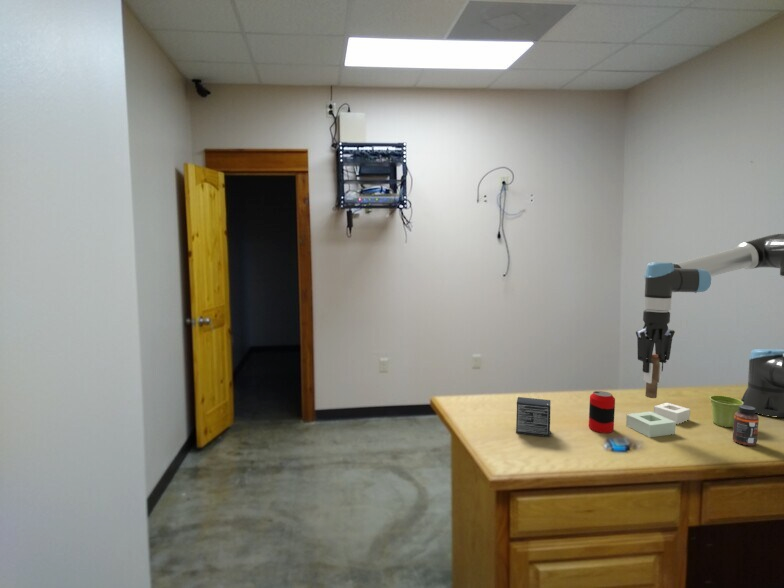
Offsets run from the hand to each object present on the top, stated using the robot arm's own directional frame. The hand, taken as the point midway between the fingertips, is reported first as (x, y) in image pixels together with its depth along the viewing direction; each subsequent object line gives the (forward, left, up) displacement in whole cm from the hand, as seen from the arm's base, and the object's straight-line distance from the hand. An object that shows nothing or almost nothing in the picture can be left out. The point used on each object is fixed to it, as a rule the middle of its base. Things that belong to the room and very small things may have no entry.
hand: (651, 381), depth 152 cm
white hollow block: (-15, -6, -16) cm, 23 cm away
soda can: (+15, -5, -17) cm, 23 cm away
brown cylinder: (0, 0, -5) cm, 5 cm away
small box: (+38, -9, -17) cm, 42 cm away
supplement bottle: (-20, +16, -17) cm, 31 cm away
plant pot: (-28, +3, -17) cm, 33 cm away
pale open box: (0, 0, -16) cm, 16 cm away
